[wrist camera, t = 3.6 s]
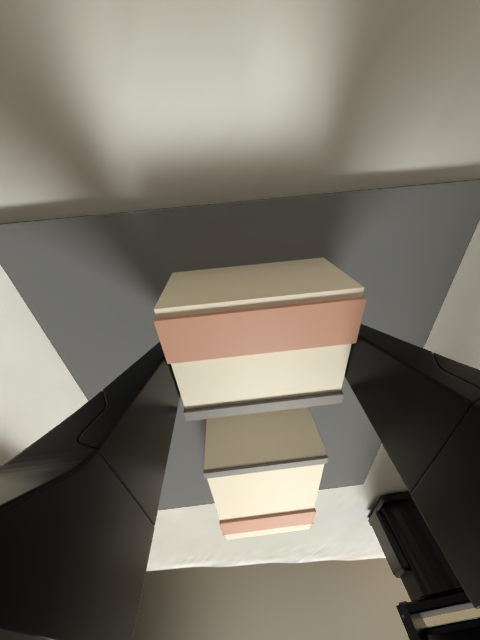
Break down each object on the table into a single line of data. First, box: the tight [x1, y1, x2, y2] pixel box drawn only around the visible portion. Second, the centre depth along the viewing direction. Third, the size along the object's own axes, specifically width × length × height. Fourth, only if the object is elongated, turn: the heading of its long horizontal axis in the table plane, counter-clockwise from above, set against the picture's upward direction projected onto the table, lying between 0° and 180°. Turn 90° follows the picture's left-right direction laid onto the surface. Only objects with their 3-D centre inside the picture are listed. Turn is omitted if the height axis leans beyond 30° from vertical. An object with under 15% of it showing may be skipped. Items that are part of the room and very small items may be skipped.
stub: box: [154, 257, 367, 421], centre depth 9 cm, size 6×5×3 cm
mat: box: [0, 179, 480, 510], centre depth 14 cm, size 18×23×1 cm
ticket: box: [203, 407, 329, 540], centre depth 15 cm, size 6×10×3 cm, turn 4°
